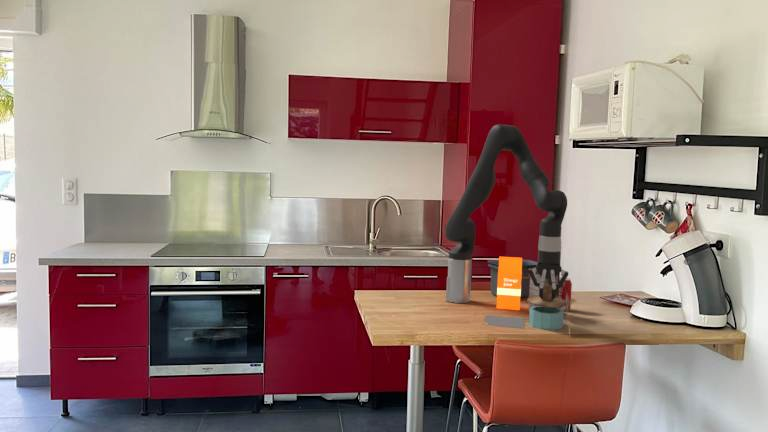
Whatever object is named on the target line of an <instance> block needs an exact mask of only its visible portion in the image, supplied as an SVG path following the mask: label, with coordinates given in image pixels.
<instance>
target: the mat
mask: <svg viewBox="0 0 768 432" xmlns="http://www.w3.org/2000/svg"><path fill="white" fill-rule="evenodd" d="M483 321H484V322H485V321H486V322H487V323H488V325H487V326H490V325H491V326H492V327H503V328H504V327H505V328H515V329H525V325H526V318H523V317H515V316H514V317H513V316H500V315H491V314H490V315H489V314H485V317H484V319H483ZM486 322H485V323H486Z"/></svg>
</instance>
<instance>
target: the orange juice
mask: <svg viewBox="0 0 768 432" xmlns="http://www.w3.org/2000/svg"><path fill="white" fill-rule="evenodd" d="M498 258H499V259H498V260H499V269H498V285H497V296H496V308H495V309H499V310H513V311H520V309H521V297H520V296H521V275H522V260H523V257H516V256H513V257H512V256H499V257H498Z"/></svg>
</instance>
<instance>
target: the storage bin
mask: <svg viewBox="0 0 768 432" xmlns="http://www.w3.org/2000/svg"><path fill="white" fill-rule="evenodd" d="M487 263H488V264H487V267H489V268H490V291H491V292H490V293H491V295H494V296H496V297H497V285H498V269H499V259H498V260H497V259H495V260H494V259H493V260H492V259H491V260H490V259H489V260H487ZM537 264H538V261H534V260H530V259H522V275H521V296H520V298H527V297H528V298H529V291H530V274H529V269H533V268H536V266H537ZM536 271H537V270H536Z"/></svg>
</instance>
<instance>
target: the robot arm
mask: <svg viewBox="0 0 768 432" xmlns="http://www.w3.org/2000/svg"><path fill="white" fill-rule="evenodd" d="M502 151H509V152H511V154H513V156H515V157H516V159H517V161H518V166H519V167H518V169H519V172H520V175H521V178H522V179H523V181H524V182H525V184H526V185H527V186H528V188H529V189H530V192H531V194H532V197H533V200H534V203H535V205H536V206H537V208H539V209H540V210H541V211H542V212H548V214H547V216H546V217H544V218H542V219H541V220H540V223H539V236H538V237H539V238H538V245H537V247H538V249H537V262H538V264H537V266H536V268H533V269H529V274H530V276H531V279H532V281H533V283H534V285H535V286H537V287H539V297H541V299H543V285H544V280H545V279H552V296H551V300H553V298H555V296H556V289H557V288H561V287H562V285H563V283H564V282H565V280H566V278H568V276H569V271H567V270H564V269H563V268H562V265H561V257H562V255H561V254H562V224H563V221H564V218H565V214H566V212H567V207H568V198H567V195H566V194H565V192H564V191H562V190H549V189H548V188H549V186H550V184H551V183H550V179H549V178H548V176H547V175H546V173H545V172H544V171H543V169H542V168H541V167H540V165H539V163H538V162H537V161H536V159H535V157H534V156H533V154H532V152H531V150H530V148H529V146H528V144H527V142H526V139H525V138H524V136H523V133H522V132H521V130H520V129H519V128H518V127H517V126H516V125H511V124H499V123H498V124H494V125H493V126H492V127H491V129H490V130H489V132H488V134H487V137H486V140H485V142H484V145H483V149H482V152H481V154H480V156H479V158H478V160H477V164H476V165H475V168H474V171H473V172H472V174H471V176H470V178H469V180H468V183H467V184H466V186H465V187H466V188H465V189H464V191H463V194H462V195H461V197H460V199H459V202H458V204H457V205H456V207H455V209H454V210H453V212H452V214H451V215H450V217H449V218H448V220H447V223H446V224H445V228H444V234H445V237H446V239H447V240H448V241H450V242H453V243H457V244H456V245H455V246H454V247H453V248H452V249H450V250H449V252H448V261H447V277H446V290H445V292H446V293H445V295H446V296H445V301H446V302H450V303H453V302H454V303H453V304H465V303H467V304H468V303H470V302H471V292H472V290H471V289H472V288H471V287H472V262H473V261H472V260H473V254H474V251H475V246H476V245H475V243H476V232H477V231H476V225H475V221H473V219H471V218H470V216H471V215H472V214H473V213H474V212H475V211H476V210H478V208H480V207H481V206H482V205H483V204H484V203H485V202H486V201H487V199H488V198H489V196H490V194H491V193H492V190H493V188H494V186H495V183H496V173H495V171H496V170H495V169H496V168H495V165H496V161H497V159H498V157H499V155H500V153H501V152H502ZM536 270H537V271H538V273H539V274H540V276H541V281H540V283H538V282H537V280H536V277H535V274H536ZM559 273H560V275H561V277H560V278H561V280H560V282H559V283H558V284H556V282H555V278H556V276H557V275H558V274H559Z"/></svg>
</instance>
